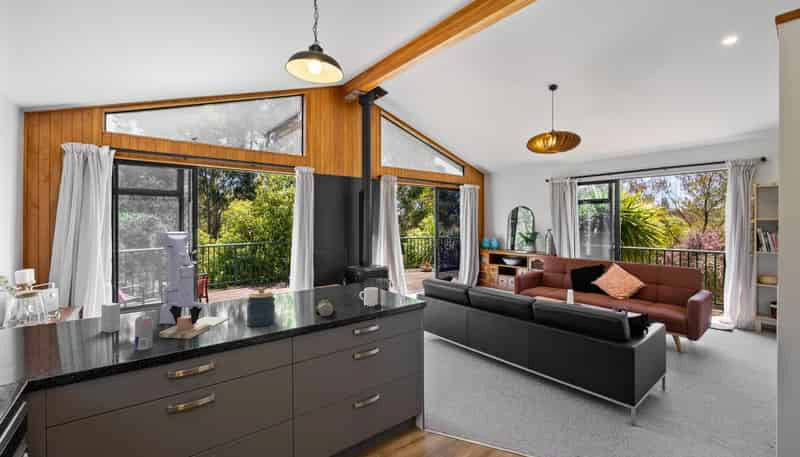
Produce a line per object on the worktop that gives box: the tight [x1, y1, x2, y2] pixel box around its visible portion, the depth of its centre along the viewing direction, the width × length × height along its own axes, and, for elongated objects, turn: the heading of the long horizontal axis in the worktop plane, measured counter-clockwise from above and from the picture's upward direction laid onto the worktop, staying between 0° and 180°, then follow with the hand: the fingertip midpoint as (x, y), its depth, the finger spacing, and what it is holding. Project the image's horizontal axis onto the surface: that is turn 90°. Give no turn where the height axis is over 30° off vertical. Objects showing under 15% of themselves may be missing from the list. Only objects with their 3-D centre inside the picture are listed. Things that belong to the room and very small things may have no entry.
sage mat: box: [196, 316, 230, 327], centre depth 167 cm, size 13×13×1 cm
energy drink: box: [134, 315, 153, 351], centre depth 132 cm, size 5×5×12 cm
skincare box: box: [100, 302, 121, 333], centre depth 151 cm, size 6×4×12 cm
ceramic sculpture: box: [313, 298, 335, 317], centre depth 184 cm, size 11×9×15 cm
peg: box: [176, 314, 194, 330], centre depth 151 cm, size 4×4×7 cm
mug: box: [358, 286, 379, 307], centre depth 204 cm, size 8×12×10 cm
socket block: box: [158, 323, 212, 340], centre depth 151 cm, size 14×14×2 cm
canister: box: [246, 287, 276, 328], centre depth 165 cm, size 13×13×18 cm
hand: (186, 323), depth 151 cm, fingers open, 7 cm apart
